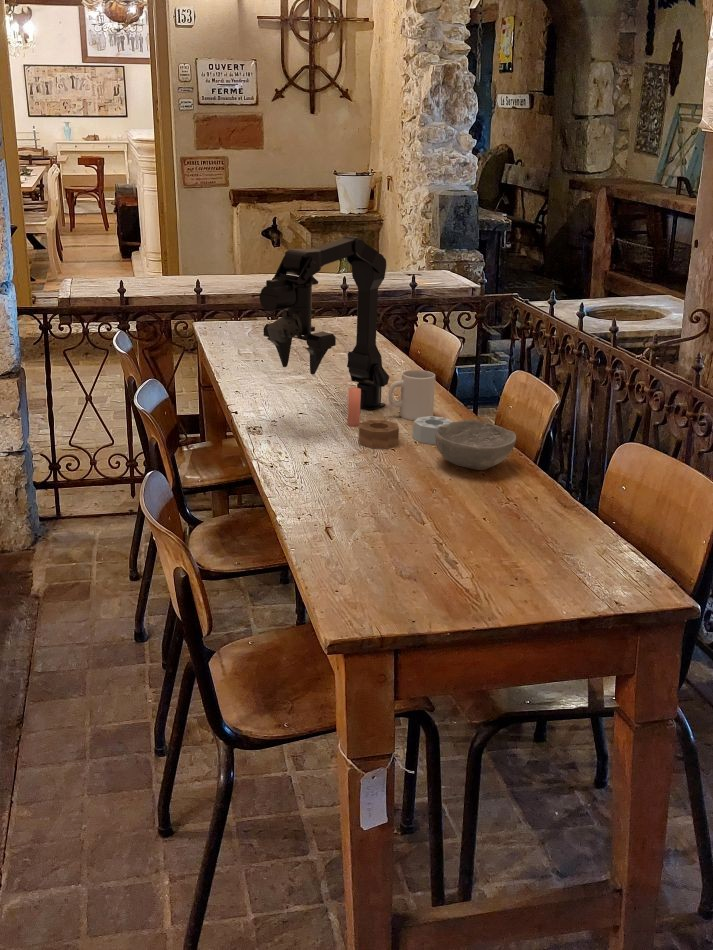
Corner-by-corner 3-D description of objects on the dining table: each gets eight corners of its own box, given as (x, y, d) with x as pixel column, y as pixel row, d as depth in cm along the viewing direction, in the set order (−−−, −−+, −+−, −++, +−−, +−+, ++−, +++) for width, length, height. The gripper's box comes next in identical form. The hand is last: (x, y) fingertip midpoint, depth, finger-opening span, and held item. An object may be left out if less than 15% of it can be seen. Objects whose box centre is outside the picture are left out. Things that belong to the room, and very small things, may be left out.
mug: (425, 410, 267) (428, 369, 263) (438, 419, 259) (441, 377, 256) (382, 412, 263) (384, 371, 260) (393, 422, 256) (395, 379, 252)
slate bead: (419, 430, 250) (420, 414, 249) (456, 435, 248) (457, 419, 246) (409, 441, 242) (410, 424, 241) (446, 446, 240) (448, 429, 238)
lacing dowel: (352, 421, 255) (354, 386, 252) (362, 424, 253) (363, 389, 250) (344, 424, 253) (346, 389, 250) (354, 427, 251) (355, 391, 248)
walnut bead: (375, 433, 247) (376, 417, 245) (405, 442, 241) (406, 426, 240) (351, 441, 240) (351, 425, 239) (380, 450, 235) (381, 434, 233)
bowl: (460, 484, 216) (463, 448, 214) (417, 458, 231) (419, 424, 228) (530, 473, 224) (533, 438, 222) (484, 449, 239) (487, 416, 236)
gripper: (246, 303, 238) (246, 369, 244) (303, 316, 227) (303, 384, 233) (280, 297, 246) (280, 361, 252) (338, 309, 235) (336, 376, 240)
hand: (298, 370), depth 244 cm, fingers open, 9 cm apart
